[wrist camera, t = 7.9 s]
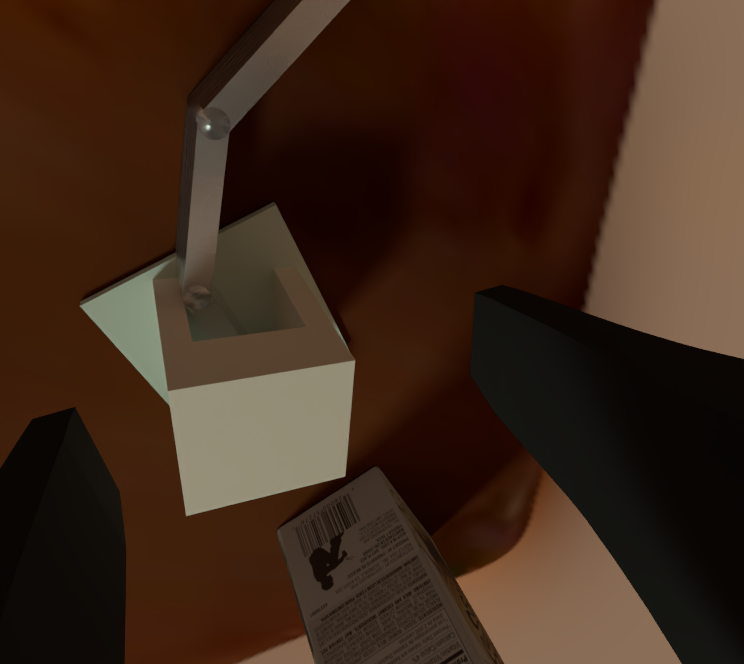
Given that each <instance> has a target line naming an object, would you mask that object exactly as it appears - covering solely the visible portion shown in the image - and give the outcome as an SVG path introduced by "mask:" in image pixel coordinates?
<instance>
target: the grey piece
mask: <svg viewBox="0 0 744 664" xmlns="http://www.w3.org/2000/svg"><path fill="white" fill-rule="evenodd" d="M349 1H350V0H274V1H273V2H272V3H271V4H270V5H269V7H268V8H267V9H266V10H265V11H264V12H263V13H262V14H261V16H260V17H259V18H258V19H257V20H256V21H255V22H254V23H253V25H252V26H251V27H250V28H249V29H248V30H247V31H246V32H245V33H244V35H243V36H242V37H241V38H240V39H239V40H238V41H237V42H236V44H235V45H234V46H233V47H232V48H231V49H230V50H229V51H228V53H227V54H226V55H225V56H224V57H223V58H222V59H221V60H220V62H219V63H218V64H217V65H216V66H215V67H214V68H213V69H212V71H211V72H210V73H209V74H208V75H207V76H206V77H205V78H204V79H203V81H202V82H201V83H200V84H199V85H198V86H197V87H196V88H195V90H194V91H193V92H192V93H191V94H190V95H189V96H188V98H187V103H186V104H187V105H186V118H185V131H184V145H183V158H182V171H181V185H180V198H179V211H178V225H177V238H176V251H175V253H176V265H175V267H176V272H177V277H178V281H179V286H180V290H181V295H182V299H183V302H184V304H185V305H186V307H187V308H188V310H189V311H190V312H191V314H192V315H193V316H194V318H195V319H196V321H197V322H198V323H199V325H200V326H201V327H202V329H203V330H204V331H205V333H206V334H207V336H208V337H209V338H210V340H211V339H218V338H226V337H233V336H240V335H248V334H247V332H246V331H245V329H244V328H243V326H242V325H241V323H240V322H239V320H238V319H237V317H236V316H235V314H234V313H233V311H232V310H231V308H230V307H229V305H228V304H227V302H226V301H225V299H224V297H223V296H222V294H221V293H220V291H219V290H218V288H217V287H216V285H215V284H214V282H213V273H214V264H215V255H216V246H217V238H218V229H219V220H220V211H221V202H222V193H223V184H224V175H225V167H226V158H227V149H228V140H229V132H230V131H231V130H232V129H233V128H234V126H235V125H236V124H237V123H238V122H239V121H240V120H241V119H242V118H243V117H244V116H245V114H246V113H247V112H248V111H249V110H250V109H251V108H252V107H253V106H254V105H255V103H256V102H257V101H258V100H259V99H260V98H261V97H262V96H263V95H264V94H265V93H266V91H267V90H268V89H269V88H270V87H271V86H272V85H273V84H274V83H275V82H276V81H277V79H278V78H279V77H280V76H281V75H282V74H283V73H284V72H285V71H286V70H287V68H288V67H289V66H290V65H291V64H292V63H293V62H294V61H295V60H296V59H297V58H298V56H299V55H300V54H301V53H302V52H303V51H304V50H305V49H306V48H307V47H308V45H309V44H310V43H311V42H312V41H313V40H314V39H315V38H316V37H317V36H318V35H319V33H320V32H321V31H322V30H323V29H324V28H325V27H326V26H327V25H328V24H329V22H330V21H331V20H332V19H333V18H334V17H335V16H336V15H337V14H338V13H339V12H340V10H341V9H342V8H343V7H344V6H345V5H346V4H347V3H348V2H349Z"/></svg>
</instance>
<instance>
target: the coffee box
mask: <svg viewBox="0 0 744 664" xmlns="http://www.w3.org/2000/svg"><path fill="white" fill-rule="evenodd" d="M277 534H278V538H279V542H280V545H281V548H282V551H283V555H284V558H285V561H286V565H287V568H288V572H289V575H290V579H291V582H292V586H293V589H294V592H295V596H296V600H297V603H298V607H299V610H300V614H301V617H302V621H303V624H304V627H305V631H306V634H307V638H308V642H309V645H310V648H311V652H312V655H313V658H314V662H315V664H504V663H503V661H502V659H501V657H500V656H499V654H498V652H497V650H496V648H495V647H494V645H493V643H492V641H491V640H490V638H489V636H488V634H487V632H486V631H485V629H484V627H483V626H482V624H481V622H480V621H479V619H478V617H477V615H476V614H475V612H474V610H473V609H472V607H471V605H470V604H469V602H468V600H467V598H466V597H465V595H464V593H463V591H462V590H461V588H460V586H459V585H458V583H457V581H456V580H455V578H454V576H453V574H452V573H451V571H450V569H449V568H448V566H447V564H446V562H445V561H444V559H443V557H442V556H441V554H440V552H439V551H438V549H437V547H436V546H435V544H434V542H433V540H432V539H431V537H430V536H429V534H428V533H427V531H426V530H425V529H424V527H423V526H422V525H421V523H420V522H419V521H418V519H417V518H416V517H415V515H414V514H413V513H412V511H411V510H410V509H409V507H408V506H407V505H406V503H405V502H404V501H403V499H402V498H401V497H400V495H399V494H398V493H397V491H396V490H395V489H394V487H393V486H392V485H391V483H390V482H389V480H388V479H387V478H386V476H385V475H384V474H383V472H382V471H381V470H380V469H379V467H377V466H376V467H373V468H372V469H370V470H369V471H367V472H365V473H364V474H362V475H361V476H359V477H358V478H356V479H355V480H353V481H352V482H350V483H349V484H347V485H345V486H344V487H342V488H341V489H339V490H338V491H336V492H335V493H333V494H332V495H330V496H328V497H327V498H325V499H324V500H322V501H321V502H319V503H318V504H316V505H315V506H313V507H311V508H310V509H308V510H307V511H305V512H303V513H302V514H300V515H299V516H297V517H296V518H294V519H293V520H291V521H290V522H288V523H286V524H285V525H283V526H282V527H280V528H279V529H278V531H277Z"/></svg>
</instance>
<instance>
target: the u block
mask: <svg viewBox="0 0 744 664" xmlns="http://www.w3.org/2000/svg"><path fill="white" fill-rule="evenodd" d="M152 282H153V289H154V296H155V303H156V311H157V318H158V325H159V332H160V339H161V346H162V353H163V361H164V368H165V375H166V382H167V389H168V396H169V403H170V410H171V416H172V423H173V430H174V437H175V443H176V450H177V457H178V464H179V470H180V477H181V484H182V491H183V497H184V504H185V511H186V516H188V515H192V514H196V513H200V512H204V511H208V510H212V509H216V508H220V507H224V506H228V505H232V504H236V503H240V502H244V501H248V500H253V499H257V498H261V497H265V496H269V495H273V494H277V493H281V492H285V491H289V490H293V489H297V488H301V487H305V486H309V485H313V484H317V483H321V482H325V481H329V480H333V479H337V478H341V477H345V474H346V462H347V451H348V439H349V427H350V415H351V403H352V391H353V379H354V367H355V359H354V358H353V356H352V355H351V353H350V352H349V350H348V348H347V347H346V345H345V344H344V342H343V340H342V339H341V337H340V336H339V334H338V333H337V331H336V329H335V328H334V326H333V325H332V323H331V322H330V320H329V318H328V317H327V315H326V314H325V312H324V310H323V309H322V307H321V306H320V304H319V303H318V301H317V299H316V298H315V296H314V295H313V293H312V292H311V290H310V288H309V287H308V285H307V284H306V282H305V280H304V279H303V277H302V276H301V274H300V273H299V271H298V269H297V268H296V267H288V268H277V269H274V327H275V331H270V332H263V333H255V334H248V335H240V336H233V337H226V338H218V339H211V340H203V341H196V342H193V341H192V337H191V332H190V328H189V324H188V319H187V315H186V310H185V306H184V302H183V299H182V295H181V290H180V286H179V281H178V278H169V279H158V280H152Z"/></svg>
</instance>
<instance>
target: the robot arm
mask: <svg viewBox="0 0 744 664" xmlns="http://www.w3.org/2000/svg"><path fill="white" fill-rule="evenodd" d="M470 375H471V376H472V378H473V379H474V381H475V383H476V384H477V386H478V387H479V389H480V391H481V392H482V394H483V395H484V397H485V398H486V400H487V401H488V403H489V404H490V406H491V407H492V409H493V410H494V412H495V413H496V414H497V416H498V417H499V418H500V419H501V420H502V422H503V423H504V424H505V425H506V426H507V428H508V429H509V430H510V431H511V432H512V433H513V435H514V436H515V437H516V438H517V439H518V440H519V441H520V443H521V444H522V445H523V446H524V447H525V448H526V450H527V451H528V452H529V453H530V454H531V455H532V456H533V457H534V459H535V460H536V461H537V462H538V463H539V464H540V465H541V467H542V468H543V469H544V470H545V471H546V472H547V473H548V475H549V476H550V477H551V478H552V479H553V480H554V481H555V483H556V484H557V485H558V486H559V487H560V488H561V489H562V491H563V492H564V493H565V494H566V495H567V496H568V497H569V499H570V500H571V501H572V502H573V504H574V505H575V506H576V507H577V509H578V510H579V511H580V512H581V513H582V515H583V516H584V517H585V519H586V520H587V521H588V523H589V524H590V525H591V527H592V528H593V530H594V531H595V533H596V534H597V535H598V537H599V538H600V540H601V541H602V542H603V544H604V545H605V547H606V548H607V549H608V551H609V552H610V554H611V555H612V556H613V558H614V559H615V561H616V562H617V564H618V565H619V567H620V568H621V570H622V571H623V572H624V574H625V575H626V577H627V579H628V580H629V581H630V583H631V585H632V586H633V588H634V589H635V591H636V592H637V593H638V595H639V597H640V598H641V599H642V601H643V602H644V604H645V606H646V607H647V608H648V610H649V612H650V613H651V615H652V616H653V618H654V620H655V621H656V622H657V624H658V626H659V628H660V629H661V631H662V633H663V634H664V636H665V637H666V639H667V641H668V642H669V644H670V645H671V647H672V649H673V650H674V652H675V653H676V654H677V657H678V658H679V660H680V661H681V663H682V664H744V359H741V358H737V357H733V356H728V355H724V354H720V353H716V352H711V351H707V350H703V349H699V348H695V347H692V346H688V345H684V344H681V343H676V342H674V341H670V340H667V339H664V338H661V337H657V336H654V335H651V334H647V333H643V332H640V331H637V330H634V329H631V328H628V327H625V326H622V325H619V324H616V323H613V322H610V321H607V320H604V319H602V318H599V317H596V316H593V315H590V314H587V313H584V312H582V311H579V310H576V309H573V308H570V307H568V306H565V305H562V304H559V303H556V302H554V301H551V300H548V299H545V298H542V297H539V296H536V295H534V294H531V293H528V292H525V291H521V290H518V289H515V288H511V287H508V286H504V285H500V286H497V287H493V288H490V289H486V290H483V291H479V292H476V293H475V300H474V317H473V334H472V351H471V368H470ZM125 604H126V543H125V533H124V524H123V516H122V508H121V500H120V493H119V490H118V488H117V486H116V484H115V482H114V480H113V478H112V476H111V474H110V472H109V471H108V469H107V467H106V465H105V463H104V461H103V459H102V457H101V455H100V454H99V452H98V450H97V448H96V446H95V444H94V442H93V440H92V438H91V436H90V435H89V433H88V431H87V429H86V427H85V425H84V423H83V421H82V419H81V417H80V416H79V414H78V412H77V410H76V408H75V407H73V408H70V409H66V410H63V411H59V412H56V413H52V414H49V415H45V416H42V417H38V418H35V419H32V421H31V422H30V424H29V425H28V427H27V428H26V430H25V431H24V433H23V434H22V436H21V437H20V439H19V440H18V442H17V443H16V445H15V446H14V448H13V449H12V451H11V453H10V454H9V456H8V457H7V459H6V460H5V462H4V464H3V465H2V467H1V468H0V664H124V658H125Z"/></svg>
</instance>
